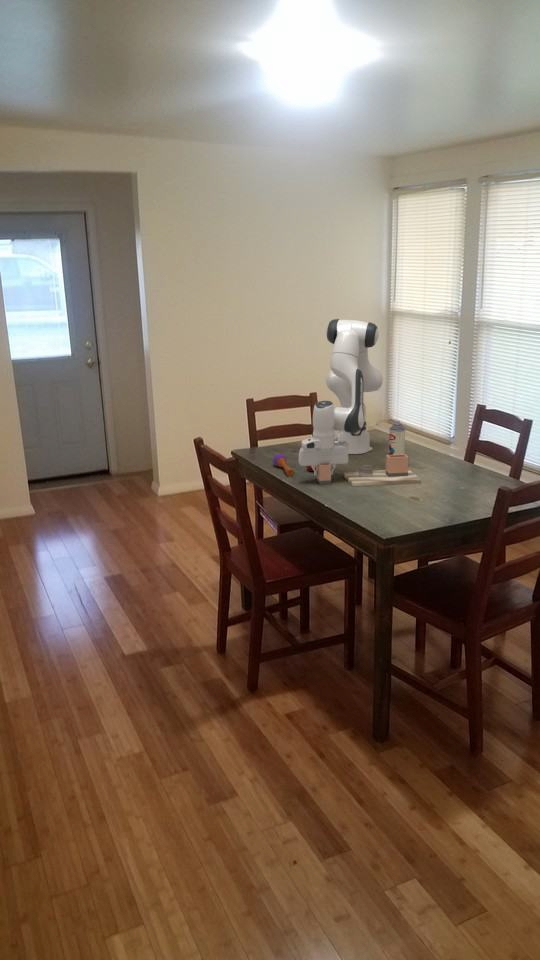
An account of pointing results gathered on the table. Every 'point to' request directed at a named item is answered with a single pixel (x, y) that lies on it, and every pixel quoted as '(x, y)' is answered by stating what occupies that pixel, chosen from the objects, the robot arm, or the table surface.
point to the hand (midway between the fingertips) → (323, 475)
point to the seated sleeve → (397, 465)
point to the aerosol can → (396, 439)
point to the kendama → (282, 463)
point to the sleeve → (324, 474)
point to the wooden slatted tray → (378, 477)
